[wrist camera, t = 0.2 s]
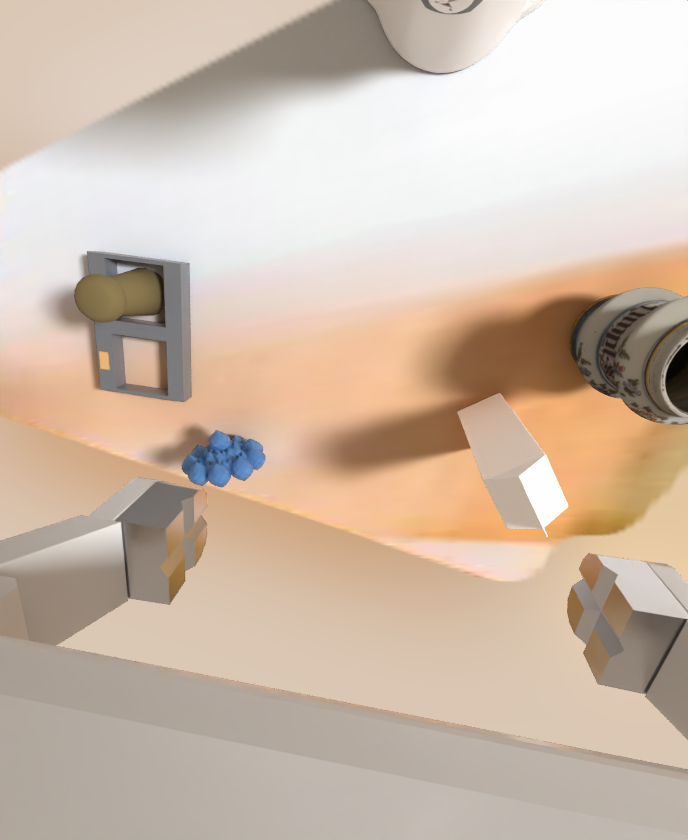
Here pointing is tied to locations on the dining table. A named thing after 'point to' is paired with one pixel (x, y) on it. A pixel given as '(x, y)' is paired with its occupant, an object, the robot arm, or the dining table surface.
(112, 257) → the panel
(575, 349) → the apothecary jar
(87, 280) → the cork
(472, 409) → the milk
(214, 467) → the grapes
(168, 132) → the dining table surface
